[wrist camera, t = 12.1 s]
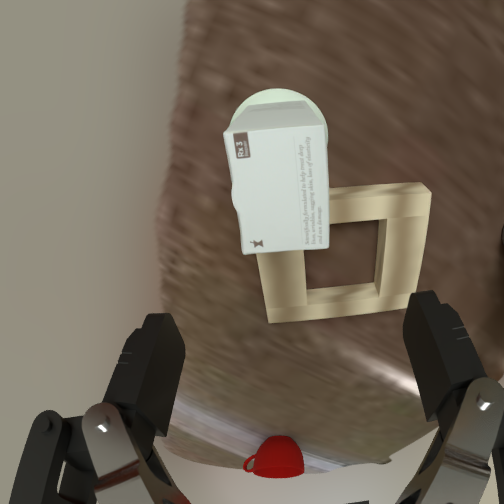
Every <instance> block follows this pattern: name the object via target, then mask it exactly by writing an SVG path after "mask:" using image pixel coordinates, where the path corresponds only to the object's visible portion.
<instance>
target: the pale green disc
mask: <svg viewBox="0 0 504 504" xmlns="http://www.w3.org/2000/svg"><path fill="white" fill-rule="evenodd" d="M299 100H305V101H306V102H307V104H308V105H309V106H310V108H311V109H312V110H313V112H314V113H315V114H316V116H317V117H318V118H319V120H320V121H321V122H322V124H323V125H324V126H325V132H326V143H328V130H327V125H326V121H325V119H324V117H323V115H322V113H321V111H320V110H319V108H318V107H317V106H316V105H315V104H314V103H313V102H312V101H311V100H310V99H308V98H307V97H305V96H304V95H302V94H300V93H298V92H295V91H292V90H288V89H281V88H275V89H267V90H263V91H260V92H258V93H256V94H254V95H252V96H250V97H249V98H247V99H246V100H245V101H244V102H243V103H242V104H241V105H240V106H239V107H238V109H237V110H236V112H235V113H234V115H233V118H232V120H231V123H230V125H231V124H232V123H233V122H234V121H235V120H236V118H237V117H238V116H239V115H240V114H241V113H242V112H243V111H244V109H245V108H246V107H247V106H248V105H255V104H264V103H274V102H286V101H299Z"/></svg>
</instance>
